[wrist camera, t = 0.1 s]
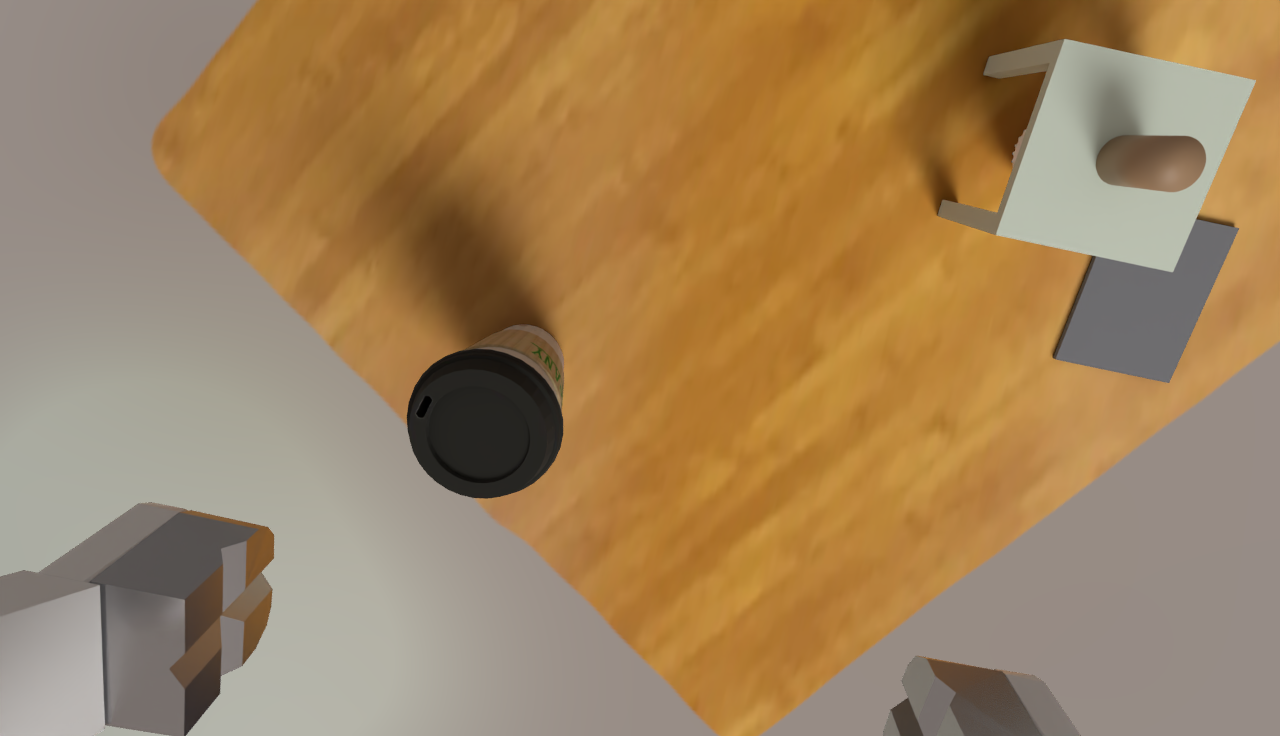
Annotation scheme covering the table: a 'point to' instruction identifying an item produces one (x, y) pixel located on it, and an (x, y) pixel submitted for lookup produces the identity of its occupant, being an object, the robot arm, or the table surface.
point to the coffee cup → (490, 413)
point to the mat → (1144, 308)
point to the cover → (1112, 152)
